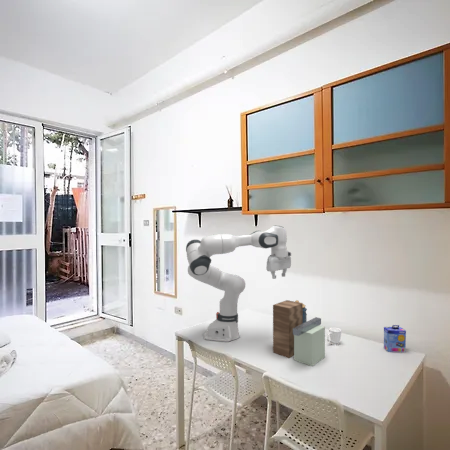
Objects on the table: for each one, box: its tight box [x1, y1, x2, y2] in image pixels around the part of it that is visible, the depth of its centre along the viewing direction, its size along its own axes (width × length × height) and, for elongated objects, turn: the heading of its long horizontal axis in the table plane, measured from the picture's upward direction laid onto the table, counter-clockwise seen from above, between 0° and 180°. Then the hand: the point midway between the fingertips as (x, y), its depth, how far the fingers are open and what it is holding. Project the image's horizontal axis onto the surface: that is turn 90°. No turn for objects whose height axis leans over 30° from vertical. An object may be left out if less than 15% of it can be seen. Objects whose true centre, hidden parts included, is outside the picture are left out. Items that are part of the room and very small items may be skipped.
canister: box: [294, 299, 308, 323], centre depth 206 cm, size 13×13×18 cm
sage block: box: [293, 324, 326, 367], centre depth 156 cm, size 14×10×16 cm
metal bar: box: [293, 316, 322, 336], centre depth 154 cm, size 24×3×3 cm, turn 136°
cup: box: [326, 327, 343, 346], centre depth 175 cm, size 7×10×8 cm
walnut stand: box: [272, 299, 304, 359], centre depth 165 cm, size 14×10×26 cm
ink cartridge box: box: [383, 324, 407, 353], centre depth 166 cm, size 10×6×14 cm, turn 87°
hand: (278, 277), depth 173 cm, fingers open, 8 cm apart
